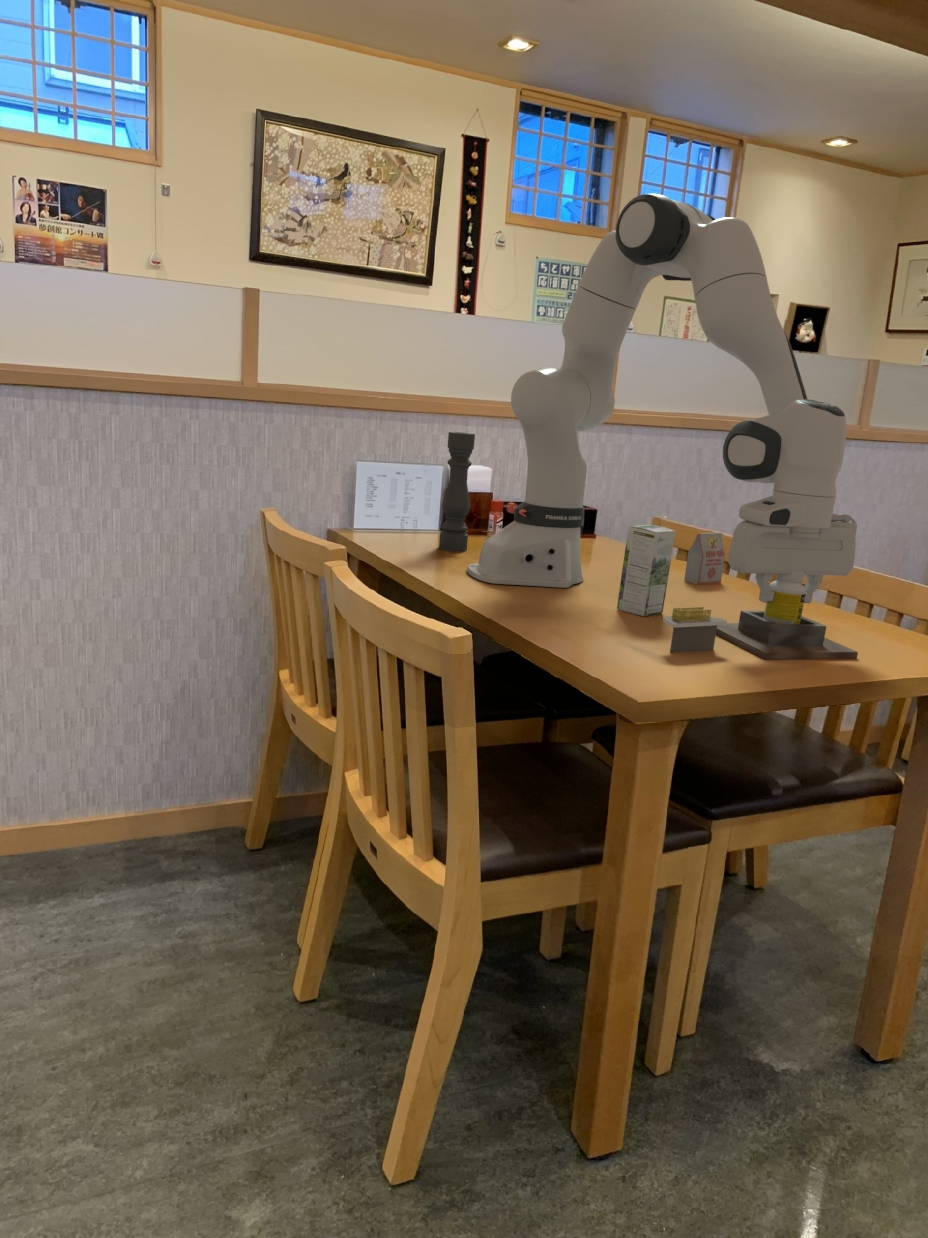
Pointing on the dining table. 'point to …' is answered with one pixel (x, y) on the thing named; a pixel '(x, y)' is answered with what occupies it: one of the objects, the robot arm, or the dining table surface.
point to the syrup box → (645, 569)
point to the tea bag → (705, 559)
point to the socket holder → (782, 638)
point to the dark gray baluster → (457, 493)
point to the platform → (692, 629)
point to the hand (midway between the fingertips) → (784, 602)
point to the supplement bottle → (786, 599)
